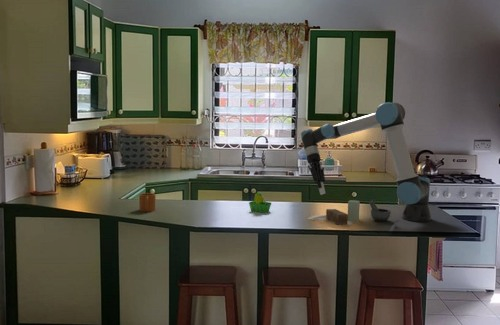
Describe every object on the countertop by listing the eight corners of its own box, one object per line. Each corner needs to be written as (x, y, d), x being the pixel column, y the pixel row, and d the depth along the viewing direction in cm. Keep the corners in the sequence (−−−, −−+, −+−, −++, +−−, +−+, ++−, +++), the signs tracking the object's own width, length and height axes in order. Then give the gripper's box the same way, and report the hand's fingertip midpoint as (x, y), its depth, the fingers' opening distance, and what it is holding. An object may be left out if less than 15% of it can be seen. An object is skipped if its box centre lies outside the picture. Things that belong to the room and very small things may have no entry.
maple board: (360, 222, 277) (360, 220, 277) (350, 227, 265) (350, 224, 265) (318, 216, 289) (318, 214, 289) (307, 221, 278) (307, 218, 277)
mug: (135, 212, 291) (135, 196, 290) (142, 208, 303) (141, 193, 302) (151, 213, 290) (151, 196, 289) (157, 209, 302) (157, 193, 301)
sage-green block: (358, 219, 277) (359, 200, 276) (357, 221, 272) (357, 202, 271) (349, 218, 279) (350, 200, 278) (347, 220, 274) (348, 201, 273)
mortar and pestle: (388, 221, 281) (389, 199, 279) (391, 225, 271) (392, 202, 270) (367, 220, 282) (368, 198, 281) (368, 224, 273) (369, 201, 272)
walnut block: (326, 209, 278) (338, 214, 264) (335, 208, 279) (347, 214, 266) (325, 218, 278) (338, 224, 265) (334, 218, 280) (347, 224, 266)
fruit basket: (271, 211, 302) (272, 191, 301) (265, 214, 294) (266, 193, 293) (253, 209, 307) (254, 189, 306) (247, 211, 299) (247, 192, 298)
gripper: (314, 160, 310) (324, 197, 300) (300, 155, 300) (310, 194, 291) (324, 154, 305) (335, 192, 296) (311, 150, 296) (321, 189, 286)
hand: (322, 193), depth 293 cm, fingers closed
